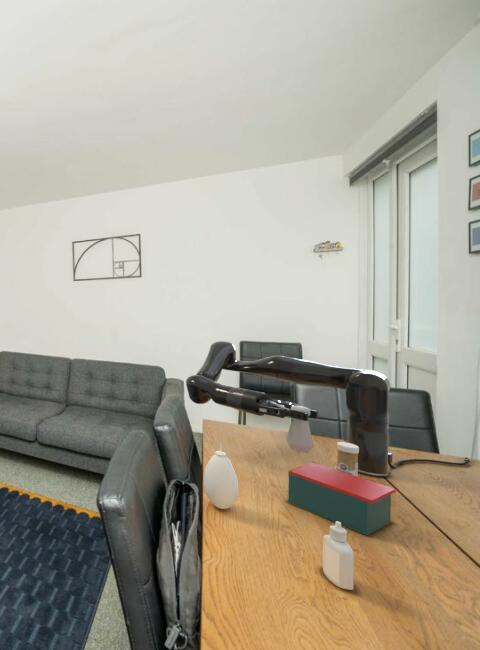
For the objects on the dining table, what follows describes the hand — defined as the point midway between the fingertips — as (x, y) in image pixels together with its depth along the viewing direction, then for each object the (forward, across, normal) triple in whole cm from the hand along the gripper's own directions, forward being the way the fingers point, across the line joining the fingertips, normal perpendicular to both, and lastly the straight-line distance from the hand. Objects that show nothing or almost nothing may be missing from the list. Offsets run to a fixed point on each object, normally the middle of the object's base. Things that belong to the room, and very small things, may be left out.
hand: (312, 416), depth 102 cm
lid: (+7, -3, +15) cm, 17 cm away
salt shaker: (-3, 0, +11) cm, 12 cm away
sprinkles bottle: (+2, +16, +24) cm, 29 cm away
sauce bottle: (-7, -29, +24) cm, 38 cm away
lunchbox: (+7, -3, +24) cm, 25 cm away
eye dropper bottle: (+19, -34, +24) cm, 46 cm away
